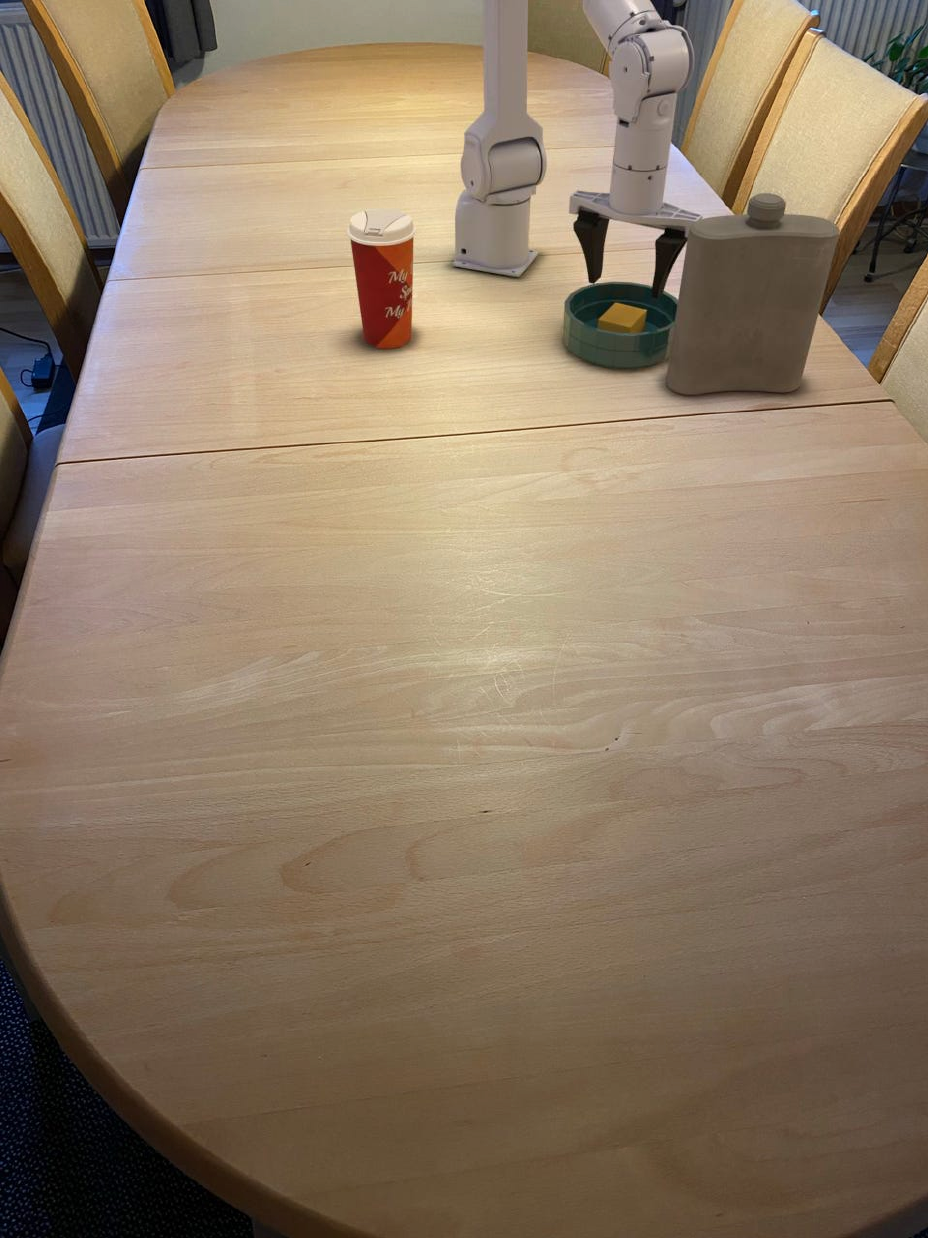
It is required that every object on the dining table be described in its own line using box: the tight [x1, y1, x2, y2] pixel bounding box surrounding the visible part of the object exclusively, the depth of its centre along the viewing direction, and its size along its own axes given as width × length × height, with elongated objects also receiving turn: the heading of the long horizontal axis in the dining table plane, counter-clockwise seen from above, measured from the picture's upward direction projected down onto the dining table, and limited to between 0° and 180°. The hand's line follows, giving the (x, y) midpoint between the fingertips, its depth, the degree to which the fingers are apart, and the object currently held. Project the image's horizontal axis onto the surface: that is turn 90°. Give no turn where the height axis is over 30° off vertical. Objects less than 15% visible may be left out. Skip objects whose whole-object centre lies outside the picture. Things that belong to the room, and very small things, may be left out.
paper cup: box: [346, 207, 417, 349], centre depth 114 cm, size 8×8×14 cm
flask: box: [665, 192, 841, 396], centre depth 104 cm, size 15×6×20 cm, turn 93°
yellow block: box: [598, 303, 647, 333], centre depth 116 cm, size 4×5×3 cm
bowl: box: [561, 281, 678, 371], centre depth 116 cm, size 14×14×4 cm
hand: (625, 287), depth 113 cm, fingers open, 7 cm apart
